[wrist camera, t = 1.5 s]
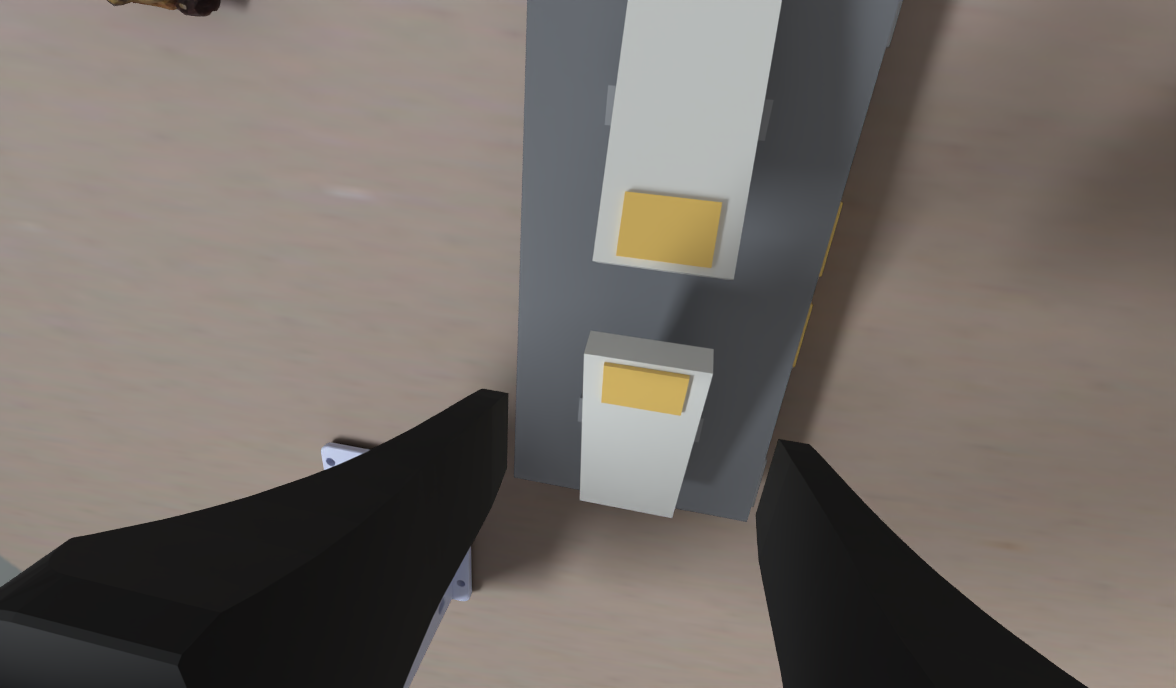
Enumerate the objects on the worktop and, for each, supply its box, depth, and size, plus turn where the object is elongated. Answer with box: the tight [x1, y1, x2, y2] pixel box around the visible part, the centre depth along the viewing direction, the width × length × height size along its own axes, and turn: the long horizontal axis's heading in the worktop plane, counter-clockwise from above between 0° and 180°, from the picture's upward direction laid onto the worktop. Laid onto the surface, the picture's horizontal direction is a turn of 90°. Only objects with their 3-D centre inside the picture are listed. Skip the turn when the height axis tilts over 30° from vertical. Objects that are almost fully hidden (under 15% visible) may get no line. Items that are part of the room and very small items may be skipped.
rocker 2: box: [580, 331, 714, 518], centre depth 17 cm, size 8×4×1 cm, turn 175°
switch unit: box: [514, 0, 903, 522], centre depth 18 cm, size 20×10×4 cm, turn 175°
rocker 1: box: [592, 0, 782, 280], centre depth 13 cm, size 8×4×1 cm, turn 175°
